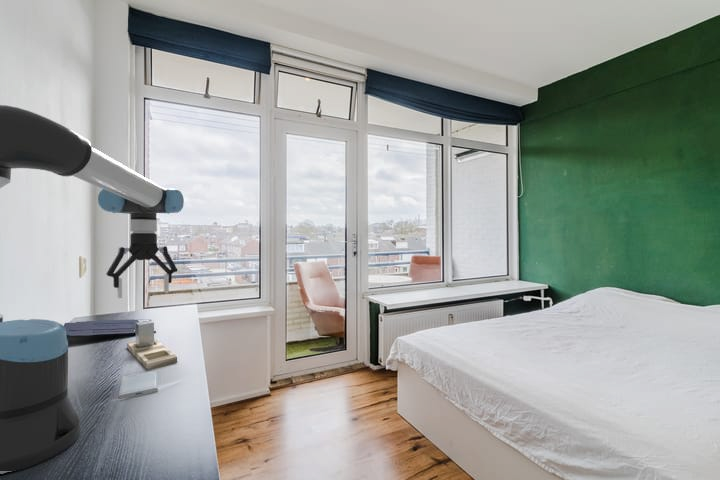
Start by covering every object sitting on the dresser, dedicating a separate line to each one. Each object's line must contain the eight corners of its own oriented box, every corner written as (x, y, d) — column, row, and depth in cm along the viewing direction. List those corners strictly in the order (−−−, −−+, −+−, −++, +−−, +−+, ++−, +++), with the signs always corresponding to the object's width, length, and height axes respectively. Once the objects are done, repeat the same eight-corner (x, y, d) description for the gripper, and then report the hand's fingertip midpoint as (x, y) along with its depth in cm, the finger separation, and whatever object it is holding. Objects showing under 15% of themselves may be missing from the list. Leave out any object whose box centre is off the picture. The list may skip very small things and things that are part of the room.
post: (154, 348, 114) (153, 322, 114) (139, 352, 111) (138, 325, 110) (150, 345, 117) (150, 320, 117) (135, 348, 114) (135, 322, 113)
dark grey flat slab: (64, 328, 136) (65, 319, 136) (150, 325, 154) (151, 317, 154) (55, 344, 116) (57, 334, 116) (155, 339, 134) (156, 330, 134)
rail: (177, 363, 103) (177, 356, 103) (147, 371, 97) (147, 363, 97) (153, 343, 121) (153, 337, 121) (127, 349, 115) (127, 343, 115)
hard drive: (122, 376, 91) (118, 395, 81) (157, 370, 95) (157, 386, 85) (122, 382, 91) (118, 401, 81) (157, 375, 95) (157, 393, 85)
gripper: (179, 233, 124) (180, 289, 125) (95, 232, 107) (95, 298, 107) (187, 232, 119) (187, 291, 119) (99, 232, 101) (99, 301, 102)
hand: (144, 295), depth 113 cm, fingers open, 13 cm apart
